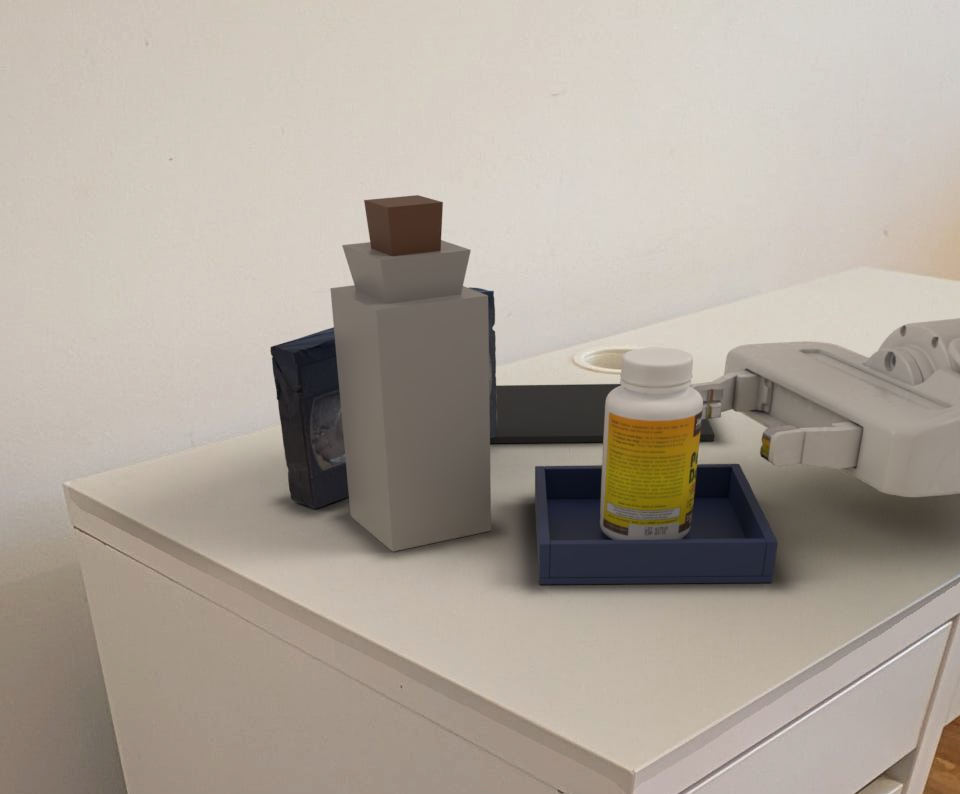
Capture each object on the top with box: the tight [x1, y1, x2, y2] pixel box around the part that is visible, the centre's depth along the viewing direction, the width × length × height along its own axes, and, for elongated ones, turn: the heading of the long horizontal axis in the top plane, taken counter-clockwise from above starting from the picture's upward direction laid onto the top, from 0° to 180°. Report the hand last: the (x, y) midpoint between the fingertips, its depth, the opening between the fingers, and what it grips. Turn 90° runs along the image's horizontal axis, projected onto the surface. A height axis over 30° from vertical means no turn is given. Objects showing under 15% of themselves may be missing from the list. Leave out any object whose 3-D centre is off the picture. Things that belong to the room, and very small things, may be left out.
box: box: [534, 463, 779, 585], centre depth 69 cm, size 13×13×2 cm
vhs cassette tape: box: [270, 286, 497, 509], centre depth 77 cm, size 18×3×10 cm, turn 136°
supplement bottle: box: [600, 346, 703, 540], centre depth 66 cm, size 6×6×10 cm
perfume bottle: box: [330, 194, 492, 552], centre depth 67 cm, size 7×7×18 cm
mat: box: [490, 383, 716, 444], centre depth 90 cm, size 18×14×1 cm
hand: (726, 423), depth 67 cm, fingers open, 8 cm apart
